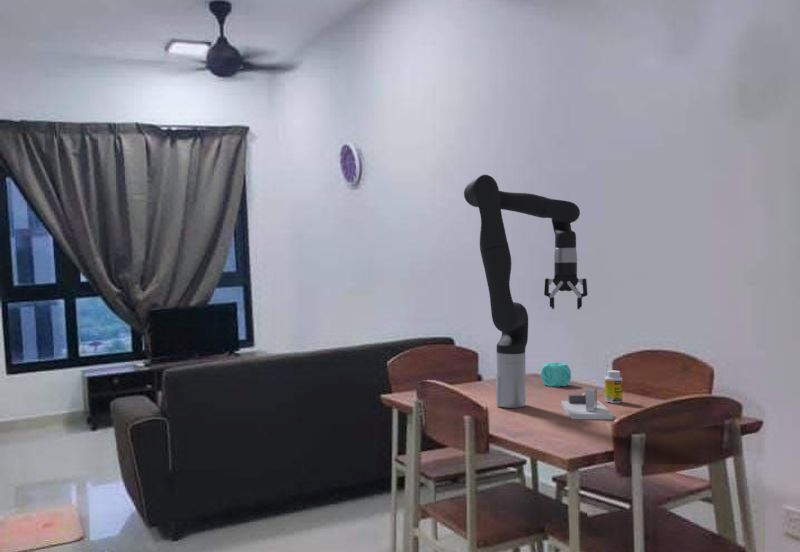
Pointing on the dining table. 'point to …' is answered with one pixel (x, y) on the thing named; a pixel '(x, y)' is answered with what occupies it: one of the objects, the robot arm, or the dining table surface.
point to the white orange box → (591, 398)
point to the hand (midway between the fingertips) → (565, 308)
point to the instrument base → (584, 408)
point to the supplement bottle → (613, 387)
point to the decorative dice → (556, 374)
